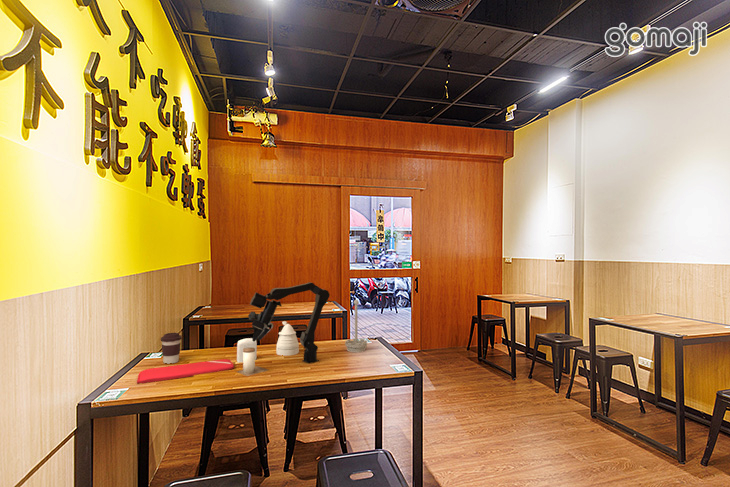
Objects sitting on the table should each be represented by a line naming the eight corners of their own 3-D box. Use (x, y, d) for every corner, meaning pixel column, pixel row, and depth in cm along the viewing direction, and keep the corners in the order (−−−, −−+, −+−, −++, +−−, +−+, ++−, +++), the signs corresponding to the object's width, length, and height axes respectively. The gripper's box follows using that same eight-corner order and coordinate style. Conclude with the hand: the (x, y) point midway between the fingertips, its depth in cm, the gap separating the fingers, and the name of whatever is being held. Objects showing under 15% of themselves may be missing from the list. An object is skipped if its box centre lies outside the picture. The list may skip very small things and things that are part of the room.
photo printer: (255, 359, 205) (255, 336, 205) (257, 361, 201) (257, 338, 202) (235, 362, 199) (236, 339, 199) (238, 364, 196) (238, 340, 196)
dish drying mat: (139, 375, 179) (139, 367, 179) (229, 364, 198) (230, 356, 198) (136, 385, 165) (136, 377, 165) (234, 372, 184) (234, 364, 184)
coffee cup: (156, 363, 197) (156, 334, 197) (172, 358, 206) (172, 331, 207) (169, 365, 193) (170, 336, 194) (185, 360, 202) (185, 332, 203)
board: (257, 367, 190) (257, 366, 190) (269, 371, 183) (269, 370, 183) (235, 373, 181) (235, 371, 181) (247, 377, 174) (247, 376, 174)
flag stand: (371, 350, 223) (371, 300, 224) (351, 353, 216) (351, 301, 217) (360, 346, 234) (360, 298, 235) (341, 349, 227) (341, 299, 228)
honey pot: (274, 355, 212) (274, 323, 213) (279, 349, 225) (279, 319, 226) (296, 355, 213) (296, 323, 213) (300, 349, 225) (300, 319, 226)
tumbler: (250, 369, 184) (251, 346, 185) (257, 371, 181) (257, 348, 181) (240, 372, 180) (240, 348, 181) (246, 374, 177) (247, 350, 177)
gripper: (259, 306, 202) (247, 334, 199) (248, 305, 184) (235, 335, 181) (278, 314, 201) (266, 342, 198) (269, 313, 183) (256, 344, 180)
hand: (256, 340), depth 189 cm, fingers open, 9 cm apart
